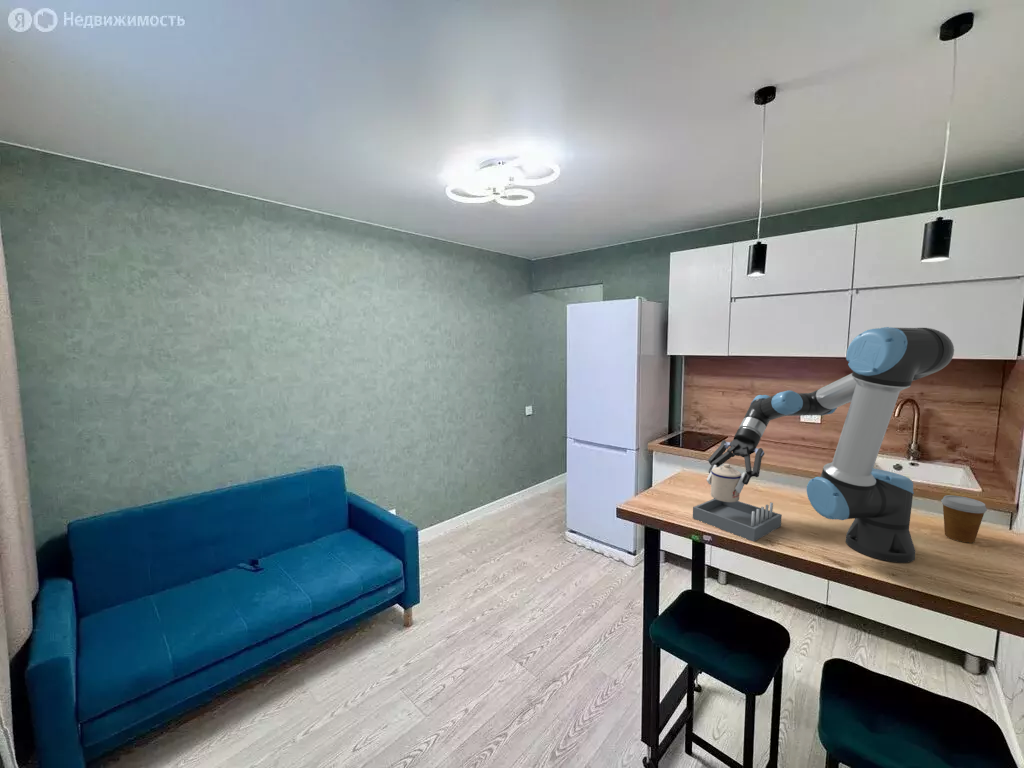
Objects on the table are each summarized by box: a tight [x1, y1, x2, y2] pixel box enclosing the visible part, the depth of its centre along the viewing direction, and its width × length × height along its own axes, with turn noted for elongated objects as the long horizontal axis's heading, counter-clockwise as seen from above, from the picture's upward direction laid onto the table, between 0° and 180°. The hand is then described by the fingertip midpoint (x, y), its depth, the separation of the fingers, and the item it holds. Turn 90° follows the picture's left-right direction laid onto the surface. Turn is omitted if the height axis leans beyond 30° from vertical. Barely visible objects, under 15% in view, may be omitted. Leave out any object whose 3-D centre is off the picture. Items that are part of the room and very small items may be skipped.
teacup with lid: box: [710, 463, 742, 502], centre depth 140 cm, size 12×9×12 cm
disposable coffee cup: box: [940, 494, 988, 544], centre depth 127 cm, size 10×10×12 cm
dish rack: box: [692, 498, 783, 543], centre depth 138 cm, size 20×18×8 cm
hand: (722, 486), depth 138 cm, fingers closed on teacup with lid, 9 cm apart
